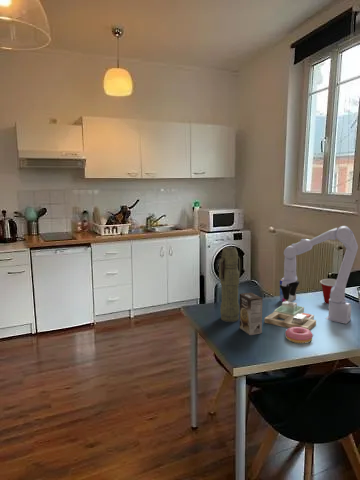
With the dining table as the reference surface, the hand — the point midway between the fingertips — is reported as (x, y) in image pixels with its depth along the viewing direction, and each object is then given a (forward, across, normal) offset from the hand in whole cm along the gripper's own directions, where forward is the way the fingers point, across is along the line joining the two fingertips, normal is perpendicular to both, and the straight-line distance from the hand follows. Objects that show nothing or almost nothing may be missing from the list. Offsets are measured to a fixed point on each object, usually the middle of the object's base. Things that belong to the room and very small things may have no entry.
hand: (289, 297), depth 180 cm
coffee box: (+9, +30, -5) cm, 32 cm away
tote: (+8, 0, 0) cm, 8 cm away
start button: (+8, +3, +10) cm, 13 cm away
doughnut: (+9, +26, +15) cm, 32 cm away
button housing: (+8, +4, +10) cm, 13 cm away
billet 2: (+8, +14, +11) cm, 19 cm away
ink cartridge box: (+9, -20, -9) cm, 23 cm away
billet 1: (+8, 0, 0) cm, 8 cm away
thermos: (+9, +24, -20) cm, 32 cm away
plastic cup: (+8, -28, +11) cm, 32 cm away
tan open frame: (+8, +14, +6) cm, 17 cm away
